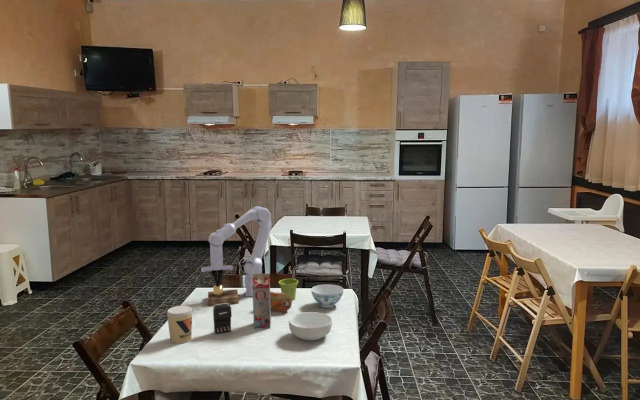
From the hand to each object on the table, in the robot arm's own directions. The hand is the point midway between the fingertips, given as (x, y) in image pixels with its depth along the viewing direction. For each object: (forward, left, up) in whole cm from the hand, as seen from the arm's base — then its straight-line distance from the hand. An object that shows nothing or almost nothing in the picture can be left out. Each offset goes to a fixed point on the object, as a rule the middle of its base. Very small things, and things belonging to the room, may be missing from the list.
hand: (217, 285), depth 221 cm
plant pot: (-33, +7, -8) cm, 35 cm away
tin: (-25, +21, -8) cm, 34 cm away
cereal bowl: (-34, +53, -8) cm, 64 cm away
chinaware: (-49, +21, -8) cm, 54 cm away
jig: (-2, +1, -7) cm, 8 cm away
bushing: (0, +1, -7) cm, 7 cm away
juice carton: (-17, +37, -8) cm, 42 cm away
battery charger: (-1, +40, -8) cm, 41 cm away
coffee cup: (+15, +43, -8) cm, 46 cm away
